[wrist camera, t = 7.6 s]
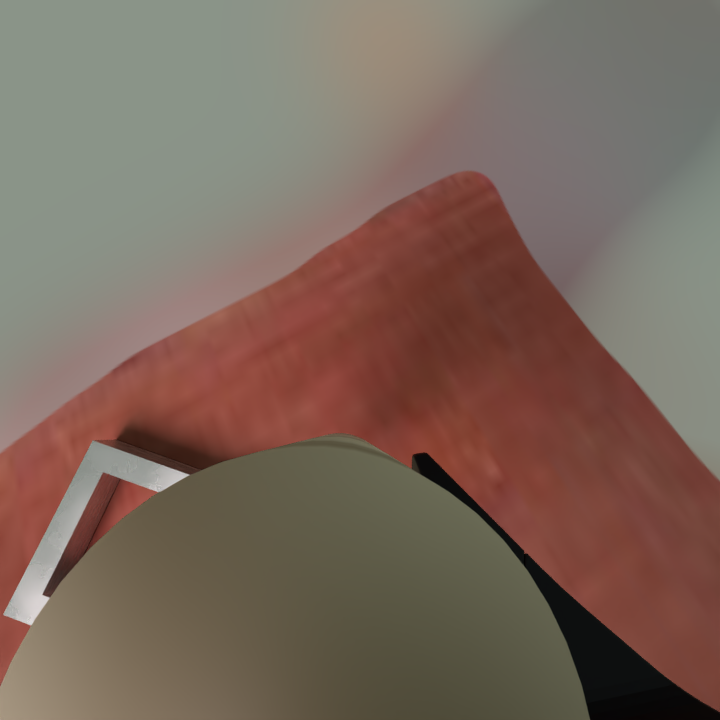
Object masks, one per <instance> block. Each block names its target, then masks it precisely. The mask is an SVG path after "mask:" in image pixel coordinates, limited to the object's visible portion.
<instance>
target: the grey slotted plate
mask: <svg viewBox="0 0 720 720" xmlns="http://www.w3.org/2000/svg"><path fill="white" fill-rule="evenodd" d="M199 471H201V470H200V469H198V468H195V467H192V466H189V465H186V464H184V463H181V462H178V461H175V460H172V459H169V458H167V457H164V456H161V455H158V454H155V453H153V452H150V451H147V450H144V449H141V448H138V447H136V446H133V445H130V444H127V443H124V442H122V441H119V440H116V439H115V440H93V441H92V443H91V445H90V447H89V449H88V451H87V453H86V455H85V457H84V459H83V461H82V463H81V465H80V466H79V468H78V470H77V472H76V474H75V476H74V478H73V480H72V482H71V484H70V486H69V488H68V490H67V492H66V494H65V496H64V498H63V500H62V501H61V503H60V505H59V507H58V509H57V511H56V513H55V515H54V517H53V519H52V521H51V523H50V525H49V527H48V529H47V531H46V533H45V535H44V536H43V538H42V540H41V542H40V544H39V546H38V548H37V550H36V552H35V554H34V556H33V558H32V560H31V562H30V564H29V566H28V568H27V569H26V571H25V573H24V575H23V577H22V579H21V581H20V583H19V585H18V587H17V589H16V591H15V593H14V595H13V597H12V599H11V601H10V603H9V604H8V606H7V608H6V610H5V612H4V614H3V615H5V616H8V617H10V618H13V619H16V620H18V621H21V622H24V623H26V624H29V625H32V624H33V622H34V620H35V618H36V617H37V616H38V614H39V613H40V611H41V610H42V608H43V607H44V606H45V604H46V603H47V601H48V600H49V598H50V597H51V596H52V594H53V593H54V591H55V590H56V588H57V587H58V586H59V584H60V583H61V581H62V580H63V579H64V578H65V577H66V575H67V574H68V573H69V572H70V571H71V570H72V569H73V567H74V566H75V565H76V564H77V563H78V562H79V561H80V559H81V558H82V557H83V555H84V553H85V551H86V549H87V547H88V545H89V542H90V540H91V538H92V536H93V534H94V532H95V530H96V528H97V526H98V524H99V522H100V520H101V518H102V516H103V513H104V511H105V509H106V507H107V505H108V503H109V501H110V499H111V497H112V495H113V493H114V491H115V489H116V486H117V484H118V482H119V480H120V478H121V479H123V480H126V481H129V482H132V483H135V484H137V485H140V486H143V487H146V488H149V489H151V490H154V491H157V492H160V491H162V490H164V489H166V488H167V487H169V486H171V485H173V484H174V483H176V482H178V481H180V480H182V479H183V478H185V477H187V476H189V475H192V474H194V473H196V472H199Z"/></svg>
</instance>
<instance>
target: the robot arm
mask: <svg viewBox="0 0 720 720" xmlns="http://www.w3.org/2000/svg"><path fill="white" fill-rule="evenodd" d="M412 470H414V471H416V472H417V473H419V474H421V475H422V476H424V477H426V478H427V479H429V480H430V481H432V482H434V483H435V484H437V485H439V486H440V487H442V488H444V489H445V490H447V491H448V492H450V493H451V494H452V495H454V496H455V497H456V498H458V499H459V500H460V501H461V502H463V503H464V504H465V505H467V506H468V507H469V508H470V509H472V510H473V511H474V512H476V513H477V514H478V515H479V516H480V517H481V518H482V519H483V520H484V521H485V522H486V523H487V524H488V525H489V526H490V527H491V528H492V529H493V530H494V531H495V532H496V533H497V534H498V535H499V536H500V537H501V538H502V539H503V540H504V541H505V543H506V544H507V545H508V546H509V548H510V549H511V550H512V552H513V553H514V554H515V555H516V557H517V558H518V559H519V560H520V562H521V563H522V564H523V565H524V567H525V568H526V569H527V571H528V572H529V574H530V575H531V577H532V579H533V580H534V582H535V584H536V585H537V587H538V588H539V590H540V592H541V593H542V595H543V596H544V598H545V600H546V601H547V603H548V605H549V607H550V609H551V611H552V613H553V615H554V617H555V619H556V621H557V623H558V626H559V628H560V630H561V632H562V634H563V636H564V638H565V640H566V642H567V645H568V648H569V650H570V653H571V656H572V659H573V662H574V665H575V668H576V670H577V673H578V676H579V679H580V682H581V685H582V688H583V692H584V697H585V701H586V705H587V709H588V713H589V717H590V720H720V712H718V711H717V710H715V709H713V708H711V707H710V706H708V705H706V704H704V703H703V702H701V701H699V700H698V699H696V698H695V697H693V696H692V695H690V694H689V693H687V692H686V691H684V690H683V689H681V688H680V687H678V686H677V685H676V684H674V683H673V682H672V681H670V680H669V679H668V678H666V677H665V676H664V675H662V674H661V673H660V672H659V671H658V670H656V669H655V668H654V667H653V666H652V665H650V664H649V663H648V662H647V661H646V660H644V659H643V658H642V657H641V656H640V655H639V654H638V653H636V652H635V651H634V650H633V649H632V648H631V647H629V646H628V645H627V644H626V643H625V642H624V641H622V640H621V639H620V638H619V637H618V636H617V635H615V634H614V633H613V632H612V631H611V630H610V629H608V628H607V627H606V626H605V625H604V624H603V623H601V622H600V621H599V620H598V619H597V618H596V617H594V616H593V615H592V614H591V613H590V612H589V611H587V610H586V609H585V608H584V607H583V606H582V605H581V604H580V603H578V602H577V601H576V600H575V599H574V598H573V597H572V596H570V595H569V594H568V593H567V592H566V591H565V590H564V589H563V588H561V587H560V586H559V585H558V584H557V583H556V582H555V581H554V580H553V579H552V578H551V577H550V576H549V575H548V574H547V573H546V572H545V571H544V570H543V569H542V568H541V567H540V566H539V565H538V564H537V563H536V562H535V561H534V560H533V559H532V558H531V557H530V556H529V555H528V554H526V553H525V554H524V550H523V549H522V548H521V547H520V546H519V545H518V544H517V543H516V542H515V541H514V540H513V539H512V538H511V537H510V536H509V535H508V534H507V533H506V532H505V531H504V530H503V529H502V528H501V527H500V526H499V525H498V524H497V523H496V522H495V521H494V520H493V519H492V518H491V517H490V516H489V515H488V514H487V513H486V512H485V511H484V510H483V509H482V508H481V507H480V506H479V505H478V504H477V503H476V502H475V501H474V500H473V499H472V498H471V497H470V496H469V495H468V494H467V493H466V492H465V491H464V490H463V489H462V488H461V487H460V486H459V485H458V484H457V483H456V482H455V481H454V480H453V479H452V478H451V477H450V476H449V475H448V474H447V473H446V472H445V471H444V470H443V469H442V468H441V467H440V466H439V465H438V464H437V463H436V462H435V461H434V460H433V459H432V458H431V457H430V456H429V455H428V454H427V453H418V454H414V455H413V456H412Z"/></svg>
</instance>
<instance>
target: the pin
mask: <svg viewBox="0 0 720 720" xmlns="http://www.w3.org/2000/svg"><path fill="white" fill-rule="evenodd" d="M0 720H590V717H589V713H588V709H587V705H586V701H585V697H584V692H583V688H582V685H581V682H580V679H579V676H578V673H577V670H576V668H575V665H574V662H573V659H572V656H571V653H570V650H569V648H568V645H567V642H566V640H565V638H564V636H563V634H562V632H561V630H560V628H559V626H558V623H557V621H556V619H555V617H554V615H553V613H552V611H551V609H550V607H549V605H548V603H547V601H546V600H545V598H544V596H543V595H542V593H541V592H540V590H539V588H538V587H537V585H536V584H535V582H534V580H533V579H532V577H531V575H530V574H529V572H528V571H527V569H526V568H525V567H524V565H523V564H522V563H521V562H520V560H519V559H518V558H517V557H516V555H515V554H514V553H513V552H512V550H511V549H510V548H509V546H508V545H507V544H506V543H505V541H504V540H503V539H502V538H501V537H500V536H499V535H498V534H497V533H496V532H495V531H494V530H493V529H492V528H491V527H490V526H489V525H488V524H487V523H486V522H485V521H484V520H483V519H482V518H481V517H480V516H479V515H478V514H477V513H476V512H474V511H473V510H472V509H470V508H469V507H468V506H467V505H465V504H464V503H463V502H461V501H460V500H459V499H458V498H456V497H455V496H454V495H452V494H451V493H450V492H448V491H447V490H445V489H444V488H442V487H440V486H439V485H437V484H435V483H434V482H432V481H430V480H429V479H427V478H426V477H424V476H422V475H421V474H419V473H417V472H416V471H414V470H412V469H411V468H409V467H408V466H406V465H404V464H403V463H401V462H399V461H398V460H396V459H394V458H393V457H391V456H390V455H388V454H386V453H385V452H383V451H381V450H380V449H378V448H376V447H375V446H373V445H372V444H370V443H368V442H367V441H365V440H363V439H361V438H359V437H357V436H354V435H350V434H344V433H335V434H328V435H324V436H320V437H316V438H312V439H308V440H304V441H300V442H296V443H292V444H288V445H284V446H280V447H276V448H272V449H268V450H264V451H260V452H256V453H252V454H249V455H245V456H242V457H238V458H234V459H231V460H227V461H224V462H220V463H218V464H215V465H213V466H211V467H208V468H206V469H203V470H201V471H199V472H196V473H194V474H192V475H189V476H187V477H185V478H183V479H182V480H180V481H178V482H176V483H174V484H173V485H171V486H169V487H167V488H166V489H164V490H162V491H160V492H159V493H157V494H155V495H154V496H152V497H151V498H149V499H148V500H147V501H145V502H144V503H143V504H141V505H140V506H139V507H137V508H136V509H135V510H133V511H132V512H130V513H129V514H128V515H126V516H125V517H124V518H122V519H121V520H120V521H119V522H118V523H117V524H116V525H115V526H114V527H112V528H111V529H110V530H109V531H108V532H107V533H106V534H105V535H104V536H103V537H102V538H101V539H99V540H98V541H97V542H96V543H95V544H94V545H93V546H92V547H91V548H90V549H89V550H88V551H87V552H86V554H85V555H84V556H83V557H82V558H81V559H80V561H79V562H78V563H77V564H76V565H75V566H74V567H73V569H72V570H71V571H70V572H69V573H68V574H67V575H66V577H65V578H64V579H63V580H62V581H61V583H60V584H59V586H58V587H57V588H56V590H55V591H54V593H53V594H52V596H51V597H50V598H49V600H48V601H47V603H46V604H45V606H44V607H43V608H42V610H41V611H40V613H39V614H38V616H37V617H36V618H35V620H34V622H33V624H32V625H31V627H30V629H29V631H28V633H27V634H26V636H25V638H24V640H23V642H22V643H21V645H20V647H19V649H18V650H17V652H16V654H15V656H14V658H13V659H12V661H11V663H10V666H9V668H8V670H7V673H6V675H5V677H4V680H3V682H2V684H1V687H0Z"/></svg>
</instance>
